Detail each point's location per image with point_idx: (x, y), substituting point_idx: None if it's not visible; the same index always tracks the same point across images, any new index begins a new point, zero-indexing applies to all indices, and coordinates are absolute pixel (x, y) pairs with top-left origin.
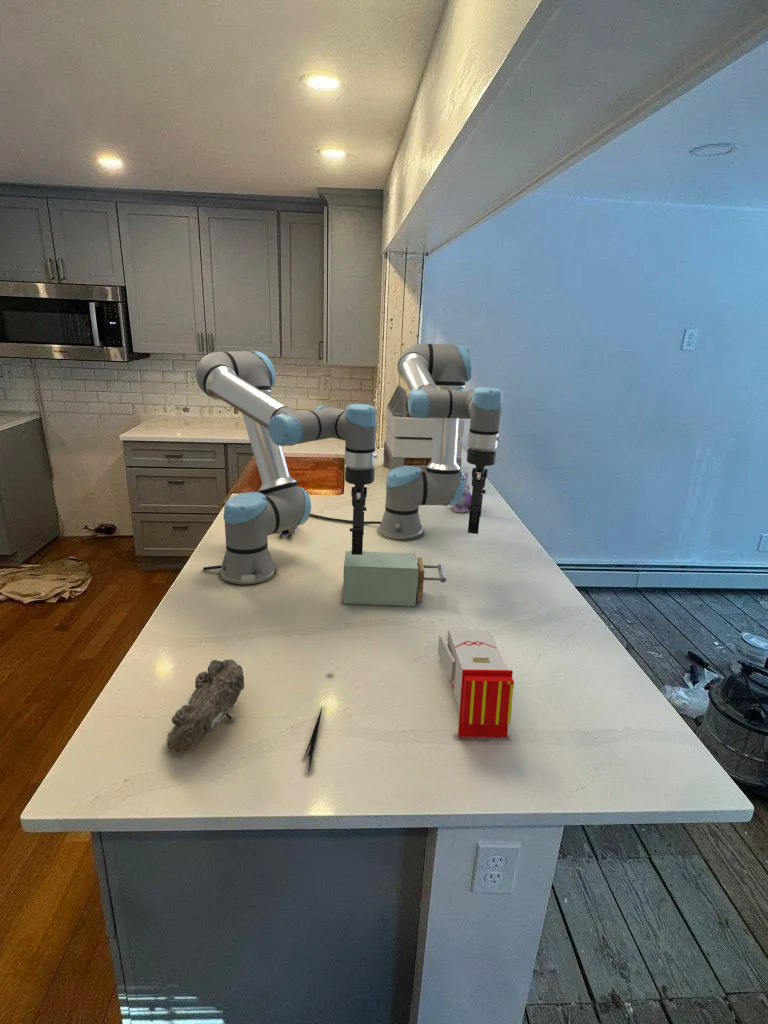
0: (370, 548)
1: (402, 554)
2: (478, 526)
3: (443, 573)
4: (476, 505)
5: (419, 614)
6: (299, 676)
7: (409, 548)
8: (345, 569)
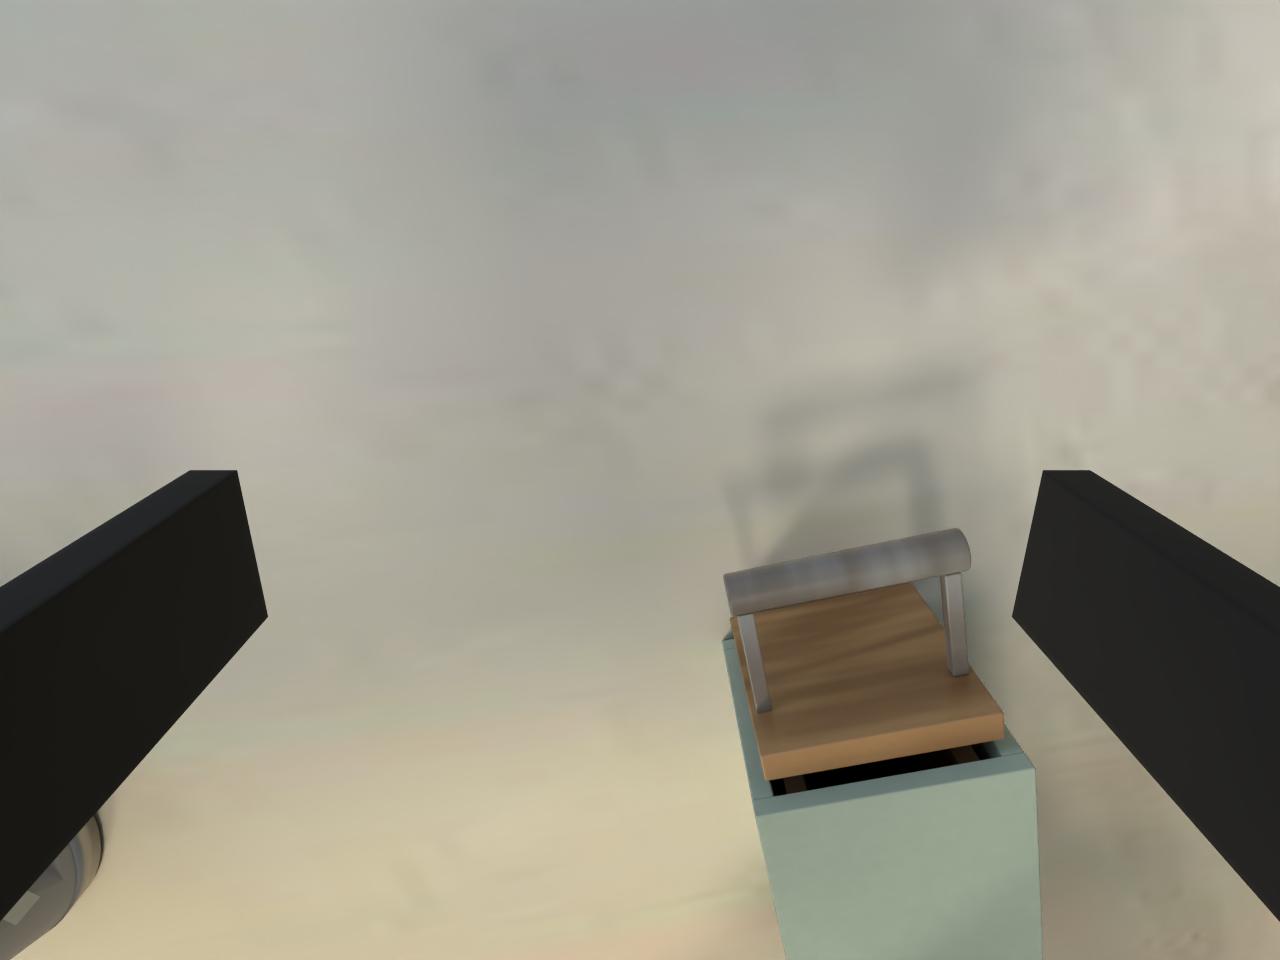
0: (293, 907)
1: (802, 885)
2: (1177, 530)
3: (899, 566)
4: (127, 673)
5: (1010, 569)
6: None
7: (177, 736)
8: None
